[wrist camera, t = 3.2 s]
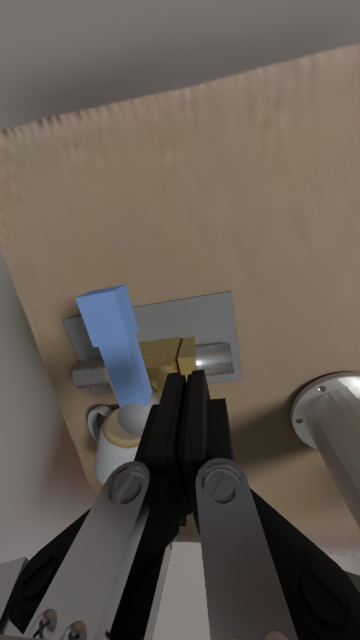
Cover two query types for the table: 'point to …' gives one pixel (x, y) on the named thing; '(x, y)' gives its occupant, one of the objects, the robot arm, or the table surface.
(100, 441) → the ceramic mug
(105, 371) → the valve
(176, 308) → the mat
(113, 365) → the lever
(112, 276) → the table surface
